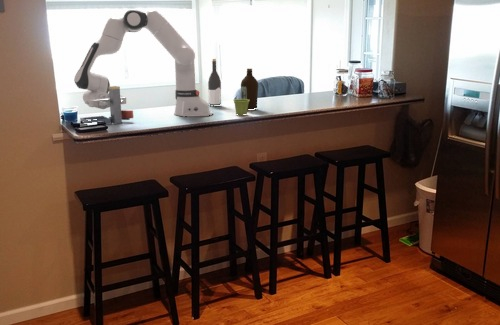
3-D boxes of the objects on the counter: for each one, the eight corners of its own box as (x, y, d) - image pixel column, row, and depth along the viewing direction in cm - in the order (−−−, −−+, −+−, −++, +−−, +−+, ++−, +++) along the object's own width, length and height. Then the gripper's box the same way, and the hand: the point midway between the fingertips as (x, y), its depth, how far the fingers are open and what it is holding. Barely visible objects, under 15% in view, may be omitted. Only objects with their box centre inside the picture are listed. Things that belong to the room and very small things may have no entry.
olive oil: (252, 108, 311) (253, 67, 304) (261, 110, 302) (261, 68, 295) (237, 109, 306) (237, 68, 299) (245, 111, 297) (245, 69, 290)
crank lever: (107, 120, 259) (107, 110, 257) (110, 118, 263) (109, 109, 261) (132, 120, 258) (131, 111, 257) (134, 119, 262) (133, 110, 260)
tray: (103, 120, 265) (102, 115, 264) (110, 123, 255) (110, 118, 255) (80, 122, 258) (80, 117, 257) (87, 125, 248) (87, 121, 248)
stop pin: (118, 122, 258) (115, 86, 254) (122, 123, 255) (119, 86, 251) (111, 123, 256) (108, 86, 251) (114, 124, 253) (112, 87, 248)
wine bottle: (214, 104, 325) (213, 58, 317) (223, 105, 320) (223, 58, 313) (206, 105, 319) (205, 58, 311) (215, 107, 314) (214, 59, 306)
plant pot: (252, 114, 285) (252, 99, 283) (244, 116, 277) (244, 101, 275) (238, 113, 289) (238, 98, 287) (230, 115, 282) (230, 100, 279)
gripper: (82, 96, 256) (95, 98, 246) (118, 93, 269) (131, 95, 260) (83, 108, 257) (96, 111, 248) (119, 104, 271) (132, 107, 261)
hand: (114, 103), depth 254 cm, fingers open, 8 cm apart
